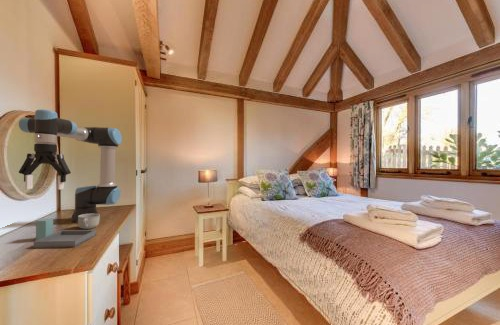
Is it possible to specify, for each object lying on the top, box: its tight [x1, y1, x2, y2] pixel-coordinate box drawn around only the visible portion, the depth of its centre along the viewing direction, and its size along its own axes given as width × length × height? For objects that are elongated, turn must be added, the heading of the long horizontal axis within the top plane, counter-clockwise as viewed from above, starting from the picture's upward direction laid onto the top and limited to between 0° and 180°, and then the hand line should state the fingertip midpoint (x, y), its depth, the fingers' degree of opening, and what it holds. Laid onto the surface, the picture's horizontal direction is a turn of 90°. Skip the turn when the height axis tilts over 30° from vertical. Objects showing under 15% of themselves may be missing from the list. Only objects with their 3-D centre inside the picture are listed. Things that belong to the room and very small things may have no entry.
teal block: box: [35, 218, 54, 241], centre depth 108 cm, size 4×4×10 cm
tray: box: [33, 229, 97, 249], centre depth 105 cm, size 16×18×3 cm
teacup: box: [77, 213, 101, 230], centre depth 125 cm, size 14×11×8 cm
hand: (45, 189), depth 96 cm, fingers open, 13 cm apart
